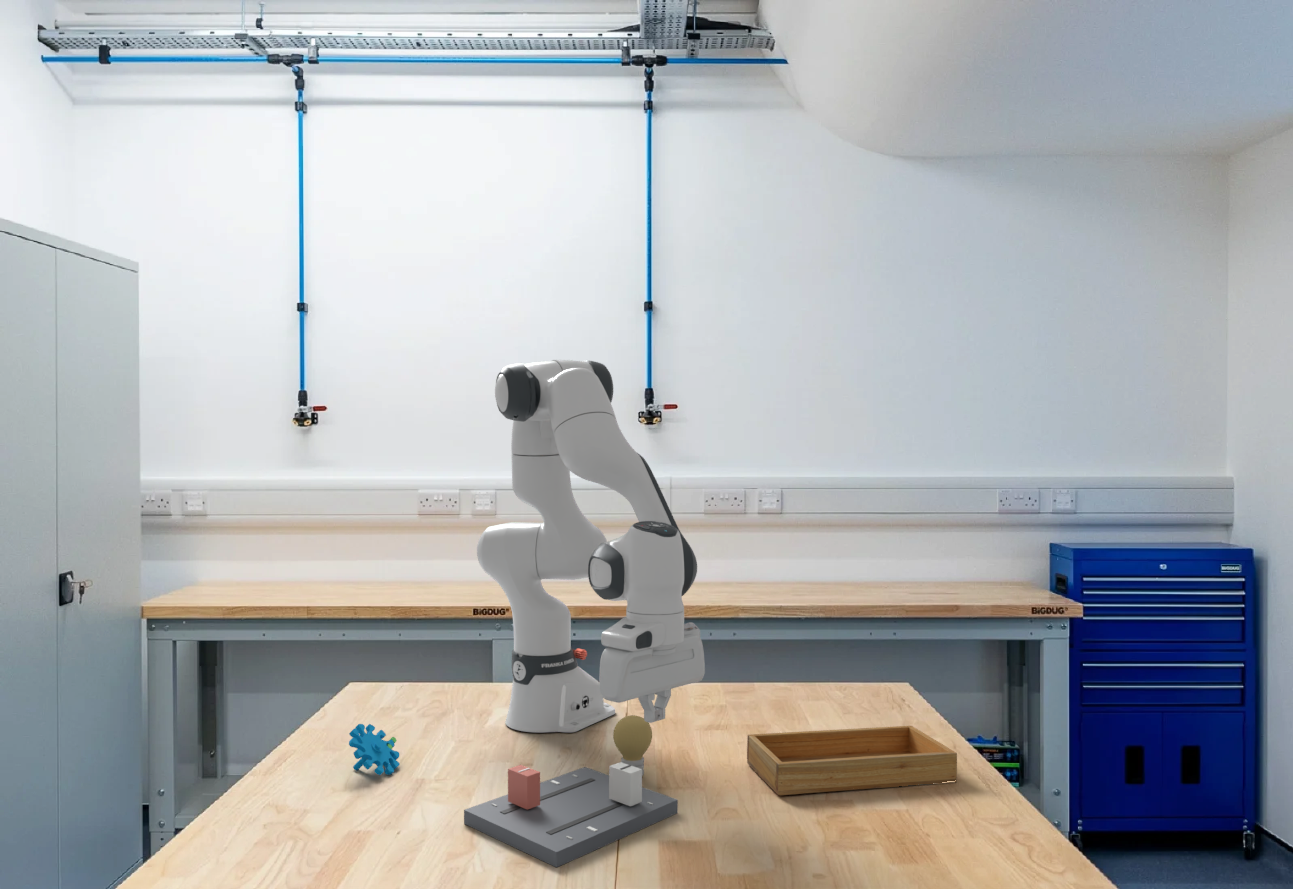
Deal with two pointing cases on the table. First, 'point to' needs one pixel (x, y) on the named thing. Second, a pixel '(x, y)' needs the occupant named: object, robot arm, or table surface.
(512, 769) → the red fader
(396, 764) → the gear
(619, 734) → the light bulb
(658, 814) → the console
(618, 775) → the grey fader
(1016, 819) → the table surface
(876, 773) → the tray
